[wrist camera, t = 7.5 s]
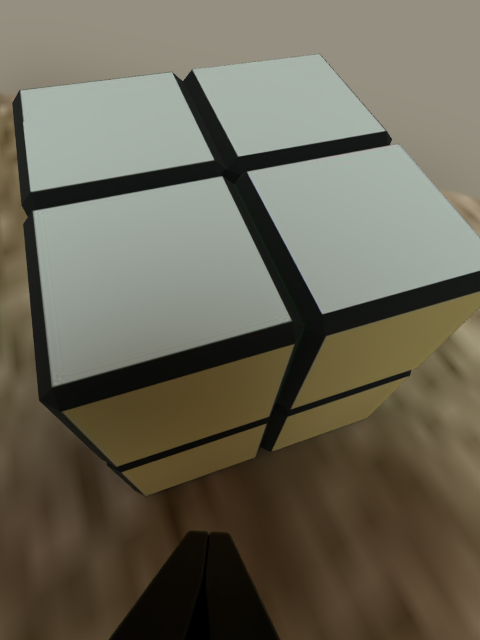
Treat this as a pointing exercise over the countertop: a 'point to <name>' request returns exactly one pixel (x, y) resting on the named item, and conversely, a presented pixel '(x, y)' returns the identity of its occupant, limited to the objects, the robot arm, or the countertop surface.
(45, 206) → the puzzle cube
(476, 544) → the countertop surface
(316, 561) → the countertop surface
